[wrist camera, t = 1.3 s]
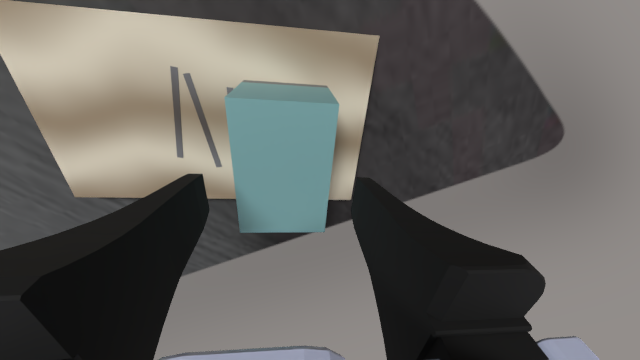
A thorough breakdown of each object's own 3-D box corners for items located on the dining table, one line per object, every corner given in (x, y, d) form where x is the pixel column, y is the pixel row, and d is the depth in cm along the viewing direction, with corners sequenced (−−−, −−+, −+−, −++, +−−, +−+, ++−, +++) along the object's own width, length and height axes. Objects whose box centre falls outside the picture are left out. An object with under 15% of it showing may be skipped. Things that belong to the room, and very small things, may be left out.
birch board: (347, 190, 22) (350, 200, 20) (89, 186, 19) (74, 197, 18) (372, 35, 16) (379, 36, 14) (1, 0, 13) (-31, -4, 12)
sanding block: (317, 189, 20) (324, 232, 15) (252, 188, 19) (240, 232, 15) (326, 85, 16) (339, 104, 11) (244, 80, 15) (224, 97, 11)
